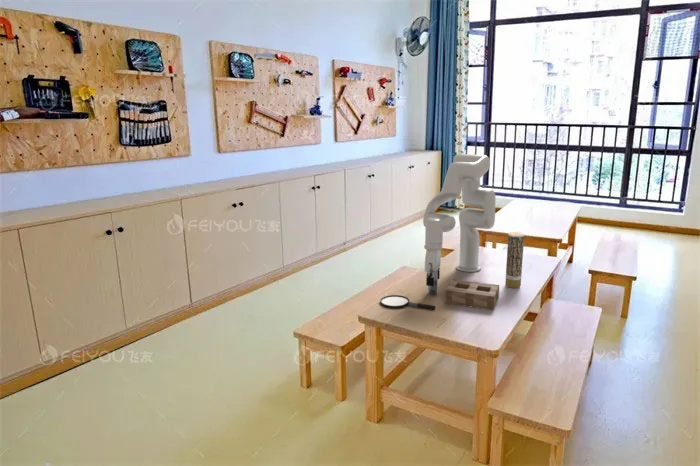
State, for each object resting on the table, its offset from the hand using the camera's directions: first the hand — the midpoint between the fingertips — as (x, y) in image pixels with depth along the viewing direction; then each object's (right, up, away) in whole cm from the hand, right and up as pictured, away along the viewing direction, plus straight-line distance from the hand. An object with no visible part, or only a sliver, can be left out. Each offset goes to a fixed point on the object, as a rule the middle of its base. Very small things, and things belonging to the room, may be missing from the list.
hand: (433, 282), depth 217 cm
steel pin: (0, -5, +1) cm, 5 cm away
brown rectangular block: (+16, -7, -8) cm, 19 cm away
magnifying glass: (-13, -9, -11) cm, 19 cm away
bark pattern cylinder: (+38, -3, +8) cm, 39 cm away
